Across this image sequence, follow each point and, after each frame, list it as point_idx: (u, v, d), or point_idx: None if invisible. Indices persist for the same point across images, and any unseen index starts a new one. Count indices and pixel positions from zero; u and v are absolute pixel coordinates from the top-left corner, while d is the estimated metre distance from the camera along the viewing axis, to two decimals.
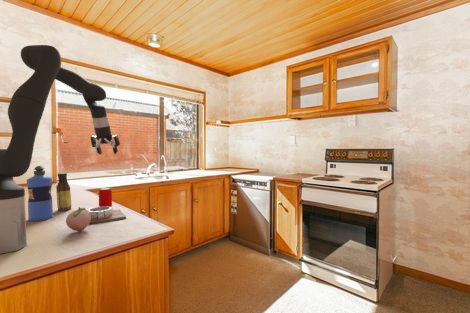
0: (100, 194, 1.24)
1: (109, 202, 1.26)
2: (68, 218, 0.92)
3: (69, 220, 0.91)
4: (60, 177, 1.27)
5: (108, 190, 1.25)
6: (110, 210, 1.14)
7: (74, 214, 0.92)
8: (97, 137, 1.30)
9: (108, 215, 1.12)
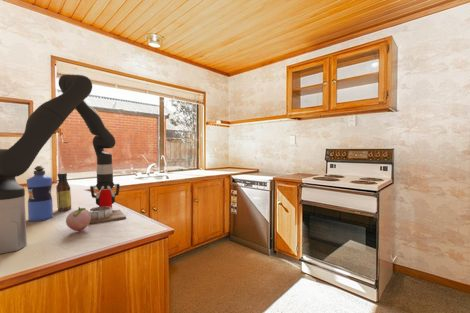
0: (100, 194, 1.24)
1: (109, 202, 1.26)
2: (68, 218, 0.92)
3: (69, 220, 0.91)
4: (60, 177, 1.27)
5: (108, 190, 1.25)
6: (110, 210, 1.14)
7: (74, 214, 0.92)
8: (98, 185, 1.24)
9: (108, 215, 1.12)
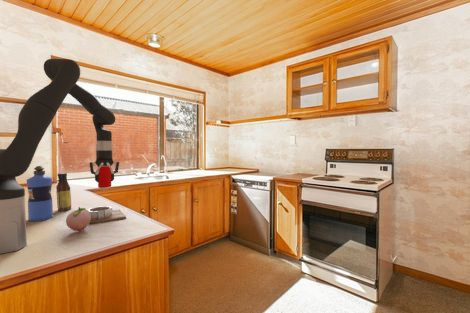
0: (99, 170, 1.23)
1: (108, 179, 1.25)
2: (68, 218, 0.92)
3: (69, 220, 0.91)
4: (60, 177, 1.27)
5: (107, 167, 1.25)
6: (110, 210, 1.14)
7: (74, 214, 0.92)
8: (97, 162, 1.23)
9: (108, 215, 1.12)
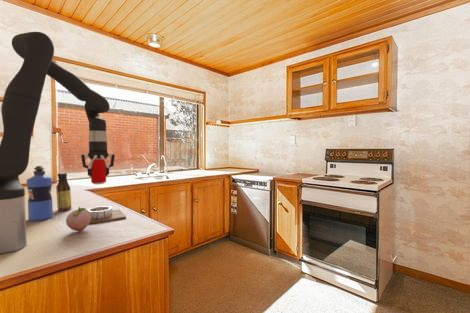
0: (92, 164, 1.10)
1: (103, 173, 1.12)
2: (68, 218, 0.92)
3: (69, 220, 0.91)
4: (60, 177, 1.27)
5: (101, 160, 1.12)
6: (110, 210, 1.14)
7: (74, 214, 0.92)
8: (90, 154, 1.10)
9: (108, 215, 1.12)
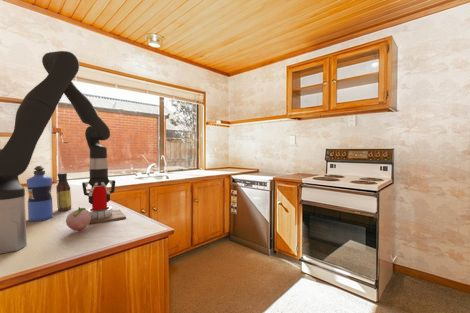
0: (93, 191, 1.11)
1: (103, 200, 1.12)
2: (68, 218, 0.92)
3: (69, 220, 0.91)
4: (60, 177, 1.27)
5: (102, 187, 1.12)
6: (110, 210, 1.14)
7: (74, 214, 0.92)
8: (91, 182, 1.11)
9: (108, 215, 1.12)
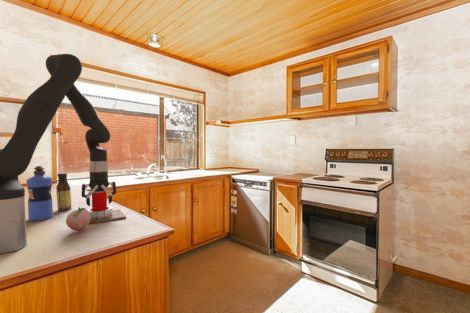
0: (93, 197, 1.11)
1: (103, 206, 1.13)
2: (68, 218, 0.92)
3: (69, 220, 0.91)
4: (60, 177, 1.27)
5: (102, 193, 1.12)
6: (110, 210, 1.14)
7: (74, 214, 0.92)
8: (91, 184, 1.11)
9: (108, 215, 1.12)
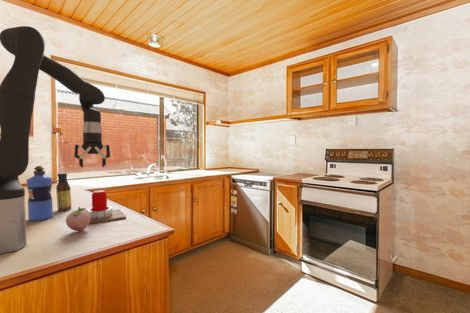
0: (93, 197, 1.11)
1: (103, 206, 1.13)
2: (68, 218, 0.92)
3: (69, 220, 0.91)
4: (60, 177, 1.27)
5: (102, 193, 1.12)
6: (110, 210, 1.14)
7: (74, 214, 0.92)
8: (84, 145, 1.09)
9: (108, 215, 1.12)
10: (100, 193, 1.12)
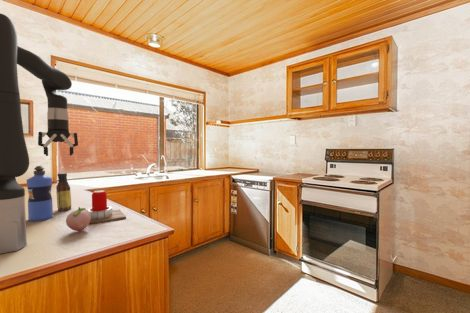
0: (93, 197, 1.11)
1: (103, 206, 1.13)
2: (68, 218, 0.92)
3: (69, 220, 0.91)
4: (60, 177, 1.27)
5: (102, 193, 1.12)
6: (110, 210, 1.14)
7: (74, 214, 0.92)
8: (49, 133, 1.04)
9: (108, 215, 1.12)
10: (100, 193, 1.11)
